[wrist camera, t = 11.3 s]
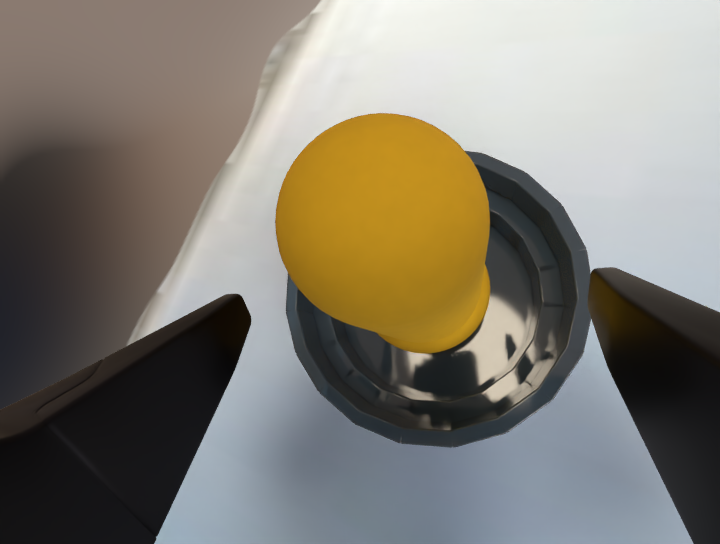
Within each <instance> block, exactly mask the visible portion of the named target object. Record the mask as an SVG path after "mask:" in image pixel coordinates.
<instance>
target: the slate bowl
mask: <svg viewBox="0 0 720 544" xmlns="http://www.w3.org/2000/svg"><path fill="white" fill-rule="evenodd" d="M465 152H466V154H467V155H468V156H469V157H470V158H471V160H472V162H473V163H474V165H475V167H476V168H477V170H478V172H479V174H480V177H481V179H482V182H483V184H484V187H485V189H486V193H487V198H488V202H489V213H490V230H489V240H488V246H487V253H486V260H485V265H486V268H487V270H488V275H489V280H490V299H489V304H488V308H487V311H486V313H485V316H484V318H483V320H482V321H481V323H480V325H479V326H478V327H477V329H476V330H475V331H474V332H473V333H472V334H471V335H470V336H469V337H468V338H467V339H466V340H464V341H463V342H462V343H460V344H458V345H456V346H455V347H452V348H450V349H448V350H445V351H441V352H436V353H413V352H409V351H405V350H402V349H400V348H398V347H395V346H394V345H392V344H390V343H388V342H387V341H385V340H384V339H383V338H382V337H380V336H379V335H378V334H377V333H376V332H373V331H370V330H366V329H363V328H360V327H356V326H353V325H350V324H347V323H344V322H342V321H340V320H337V319H335V318H333V317H331V316H330V315H328V314H326V313H325V312H323V311H321V310H320V309H319V308H317V307H316V306H315V305H314V304H312V303H311V302H310V301H309V300H308V299H307V298H306V297H305V295H304V294H303V293H302V292H301V291H300V290H299V289H298V288H297V286H296V285H295V283H294V282H293V280H292V279H291V277H290V275H289V273H288V282H287V299H286V311H287V312H286V315H287V319H288V323H289V327H290V331H291V336H292V340H293V344H294V348H295V352H296V355H297V356H298V358H299V360H300V361H301V363H302V365H303V366H304V368H305V370H306V372H307V373H308V375H309V377H310V378H311V380H312V382H313V383H314V385H315V387H316V388H317V390H318V391H320V394H321V395H322V396H324V397H325V398H326V399H327V400H328V401H329V402H330V403H331V404H333V405H334V406H335V407H336V408H337V409H338V410H339V411H340V412H342V413H343V414H344V415H345V416H346V417H347V418H348V419H350V420H351V421H352V422H353V423H355V424H356V425H358V426H360V427H363V428H365V429H367V430H370V431H372V432H374V433H377V434H379V435H381V436H384V437H386V438H388V439H391V440H393V441H395V442H398V443H402V444H412V445H425V446H439V447H458V446H462V445H465V444H469V443H473V442H476V441H480V440H484V439H487V438H491V437H495V436H498V435H502V434H505V433H506V432H509V431H510V430H512V429H513V428H515V427H516V426H517V425H519V424H520V423H522V422H523V421H524V420H526V419H527V418H529V417H530V416H532V415H533V414H534V413H536V412H537V411H539V410H540V409H541V408H543V407H544V406H546V405H547V404H548V403H550V402H551V400H553V399H554V397H555V396H556V394H557V393H558V391H559V390H560V388H561V387H562V385H563V384H564V382H565V381H566V379H567V378H568V376H569V375H570V373H571V372H572V370H573V369H574V367H575V366H576V364H577V363H578V361H579V360H580V358H581V357H582V354H583V353H584V348H585V344H586V339H587V335H588V330H589V326H590V321H591V316H590V313H589V309H588V303H587V299H588V291H589V283H590V275H591V274H590V267H589V260H588V254H587V250H586V247H585V245H584V243H583V242H582V240H581V238H580V236H579V234H578V232H577V231H576V229H575V227H574V225H573V223H572V222H571V220H570V218H569V216H568V214H567V213H566V211H565V209H564V207H563V206H561V203H560V202H559V201H557V200H556V199H555V198H554V197H553V196H552V195H551V194H550V193H549V192H547V191H546V190H545V189H544V188H543V187H542V186H541V185H540V184H539V183H537V182H536V181H535V180H534V179H533V178H532V177H531V176H530V175H529V174H527V173H525V172H524V171H522V170H520V169H517V168H515V167H513V166H511V165H508V164H506V163H504V162H502V161H499V160H497V159H495V158H493V157H490V156H488V155H486V154H483V153H478V152H470V151H465Z"/></svg>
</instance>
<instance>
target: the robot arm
mask: <svg viewBox="0 0 720 544" xmlns="http://www.w3.org/2000/svg"><path fill="white" fill-rule="evenodd" d="M587 303H588V309H589V313H590V316H591V319H592V322H593V325H594V328H595V331H596V334H597V337H598V340H599V343H600V346H601V349H602V352H603V355H604V358H605V360H606V363H607V366H608V368H609V371H610V373H611V375H612V377H613V379H614V381H615V384H616V386H617V388H618V390H619V392H620V394H621V396H622V398H623V400H624V402H625V404H626V406H627V408H628V410H629V412H630V414H631V416H632V418H633V420H634V422H635V425H636V427H637V429H638V431H639V433H640V435H641V437H642V439H643V441H644V443H645V445H646V447H647V449H648V451H649V453H650V455H651V457H652V459H653V461H654V463H655V466H656V468H657V470H658V472H659V474H660V476H661V478H662V480H663V482H664V484H665V486H666V488H667V490H668V492H669V494H670V496H671V498H672V500H673V502H674V504H675V507H676V509H677V511H678V513H679V515H680V517H681V519H682V521H683V523H684V525H685V527H686V529H687V531H688V533H689V535H690V537H691V539H692V541H693V543H694V544H720V312H717V311H715V310H713V309H710V308H708V307H706V306H703V305H701V304H699V303H696V302H694V301H692V300H689V299H687V298H685V297H682V296H680V295H678V294H675V293H673V292H671V291H668V290H666V289H664V288H661V287H659V286H657V285H654V284H652V283H650V282H647V281H645V280H643V279H640V278H638V277H636V276H633V275H631V274H629V273H626V272H624V271H622V270H619V269H617V268H613V267H610V268H597V269H594V270H593V271H592V272H591V275H590V283H589V291H588V299H587ZM250 325H251V316H250V313H249V311H248V309H247V307H246V304H245V302H244V300H243V298H242V296H241V295H239V294H227V295H224V296H222V297H220V298H218V299H216V300H214V301H212V302H210V303H209V304H207V305H205V306H203V307H201V308H199V309H197V310H195V311H193V312H191V313H189V314H188V315H186V316H184V317H182V318H180V319H178V320H176V321H174V322H172V323H170V324H168V325H167V326H165V327H163V328H161V329H159V330H157V331H155V332H153V333H151V334H149V335H147V336H146V337H144V338H142V339H140V340H138V341H136V342H134V343H132V344H130V345H128V346H126V347H125V348H123V349H121V350H119V351H117V352H115V353H113V354H111V355H109V356H108V357H106V358H105V359H104V360H100V361H98V362H96V363H94V364H92V365H90V366H88V367H86V368H84V369H82V370H80V371H79V372H77V373H75V374H73V375H71V376H69V377H67V378H65V379H63V380H61V381H59V382H57V383H55V384H53V385H51V386H49V387H47V388H45V389H43V390H40V391H38V392H37V393H34V394H32V395H30V396H28V397H26V398H24V399H22V400H20V401H18V402H16V403H14V404H11V405H9V406H7V407H5V408H3V409H1V410H0V544H154V543H155V541H156V536H158V534H159V531H160V529H161V527H162V525H163V523H164V521H165V519H166V516H167V514H168V512H169V510H170V508H171V506H172V504H173V501H174V499H175V497H176V495H177V493H178V491H179V489H180V486H181V484H182V482H183V480H184V478H185V476H186V474H187V471H188V469H189V467H190V465H191V463H192V461H193V459H194V456H195V454H196V452H197V450H198V448H199V446H200V444H201V441H202V439H203V437H204V435H205V433H206V431H207V429H208V426H209V424H210V422H211V420H212V418H213V416H214V414H215V411H216V409H217V407H218V405H219V403H220V401H221V399H222V396H223V394H224V392H225V390H226V388H227V386H228V384H229V381H230V379H231V377H232V375H233V373H234V370H235V368H236V365H237V363H238V360H239V357H240V354H241V351H242V348H243V346H244V343H245V340H246V337H247V334H248V331H249V328H250Z"/></svg>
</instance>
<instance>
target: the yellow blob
mask: <svg viewBox="0 0 720 544" xmlns="http://www.w3.org/2000/svg"><path fill="white" fill-rule="evenodd" d="M275 224H276V236H277V242H278V247H279V252H280V255H281V258H282V261H283V263H284V265H285V267H286V269H287V271H288V273H289V275H290V277H291V279H292V280H293V282H294V283H295V285H296V286H297V288H298V289H299V290H300V291H301V292H302V293H303V294H304V295H305V297H306V298H307V299H308V300H309V301H310V302H311V303H312V304H314V305H315V306H316V307H317V308H319V309H320V310H321V311H323V312H325V313H326V314H328V315H330V316H331V317H333V318H335V319H337V320H340V321H342V322H344V323H347V324H350V325H353V326H356V327H360V328H363V329H366V330H370V331H373V332H376V333H377V334H378V335H379V336H380V337H382V338H383V339H384V340H385V341H387V342H388V343H390V344H392V345H394V346H395V347H398V348H400V349H402V350H405V351H409V352H413V353H436V352H441V351H445V350H448V349H450V348H452V347H455V346H456V345H458V344H460V343H462V342H463V341H464V340H466V339H467V338H468V337H469V336H470V335H471V334H472V333H473V332H474V331H475V330H476V329H477V327H478V326H479V325H480V323H481V321H482V320H483V318H484V316H485V313H486V311H487V308H488V304H489V299H490V280H489V275H488V270H487V268H486V265H485V260H486V253H487V246H488V240H489V230H490V213H489V202H488V198H487V193H486V189H485V187H484V184H483V182H482V179H481V177H480V174H479V172H478V170H477V168H476V167H475V165H474V163H473V162H472V160H471V158H470V157H469V156H468V155H467V154H466V152H465V151H464V150H463V149H462V148H461V146H460V145H459V144H458V143H457V142H456V141H454V140H453V139H452V138H451V137H450V136H449V135H447V134H446V133H444V132H443V131H441V130H440V129H438V128H436V127H435V126H433V125H431V124H429V123H426V122H424V121H422V120H419V119H416V118H413V117H410V116H404V115H398V114H387V113H378V114H368V115H362V116H358V117H354V118H351V119H348V120H345V121H343V122H341V123H339V124H336V125H334V126H333V127H331V128H329V129H327V130H326V131H324V132H323V133H321V134H320V135H319V136H317V137H316V138H315V139H314V140H313V141H312V142H310V143H309V144H308V145H307V146H306V147H305V148H304V150H303V151H302V152H301V153H300V154H299V155H298V157H297V158H296V159H295V161H294V162H293V164H292V165H291V167H290V169H289V171H288V172H287V174H286V177H285V179H284V181H283V184H282V187H281V190H280V193H279V198H278V203H277V208H276V220H275Z"/></svg>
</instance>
